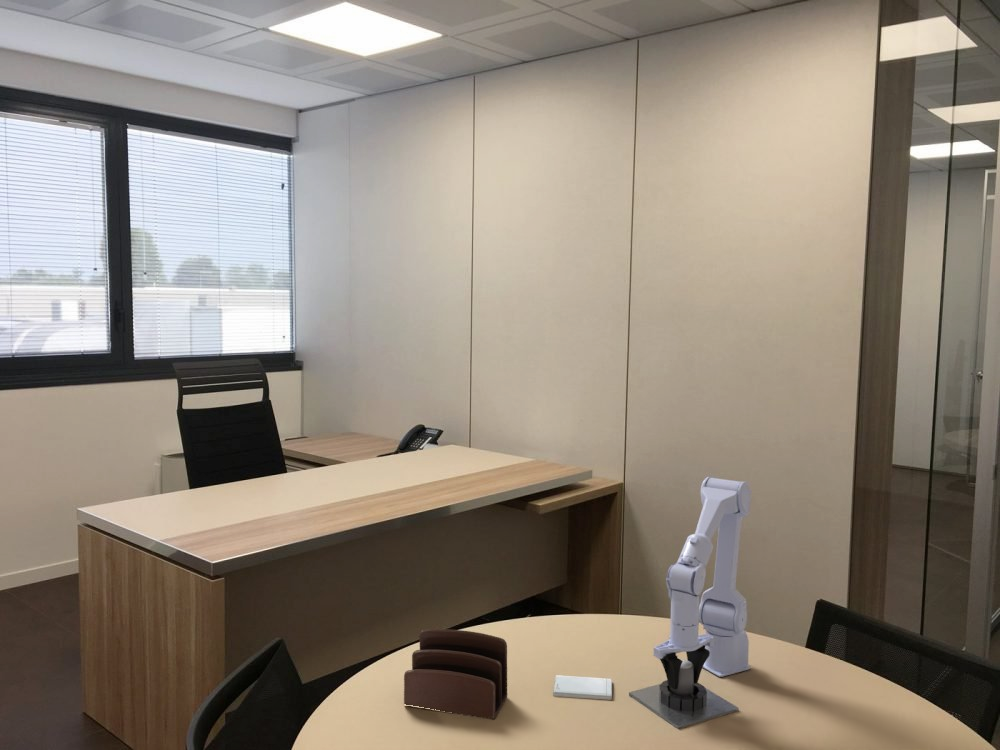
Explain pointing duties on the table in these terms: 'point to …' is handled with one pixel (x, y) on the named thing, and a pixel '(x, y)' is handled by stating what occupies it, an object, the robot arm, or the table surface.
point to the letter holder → (458, 673)
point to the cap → (685, 680)
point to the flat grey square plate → (683, 704)
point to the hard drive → (583, 687)
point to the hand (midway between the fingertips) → (683, 684)
